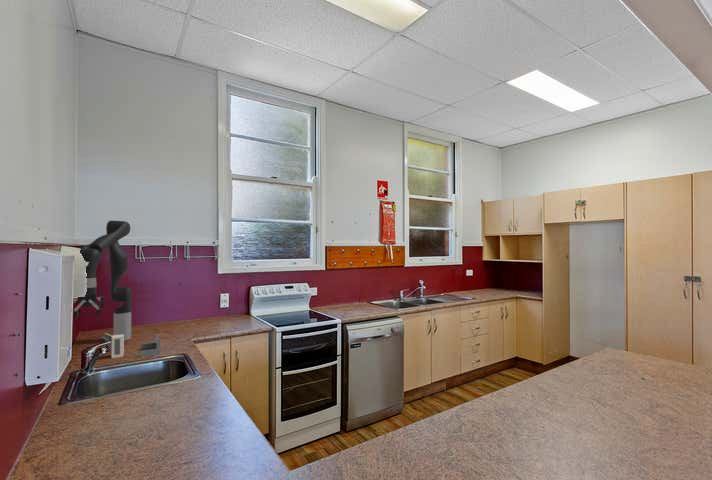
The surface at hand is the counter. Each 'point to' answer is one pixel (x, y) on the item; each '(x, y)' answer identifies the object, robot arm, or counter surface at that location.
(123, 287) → the robot arm
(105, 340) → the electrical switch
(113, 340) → the beige grey rectangular block
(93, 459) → the counter surface
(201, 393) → the counter surface
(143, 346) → the bracket
